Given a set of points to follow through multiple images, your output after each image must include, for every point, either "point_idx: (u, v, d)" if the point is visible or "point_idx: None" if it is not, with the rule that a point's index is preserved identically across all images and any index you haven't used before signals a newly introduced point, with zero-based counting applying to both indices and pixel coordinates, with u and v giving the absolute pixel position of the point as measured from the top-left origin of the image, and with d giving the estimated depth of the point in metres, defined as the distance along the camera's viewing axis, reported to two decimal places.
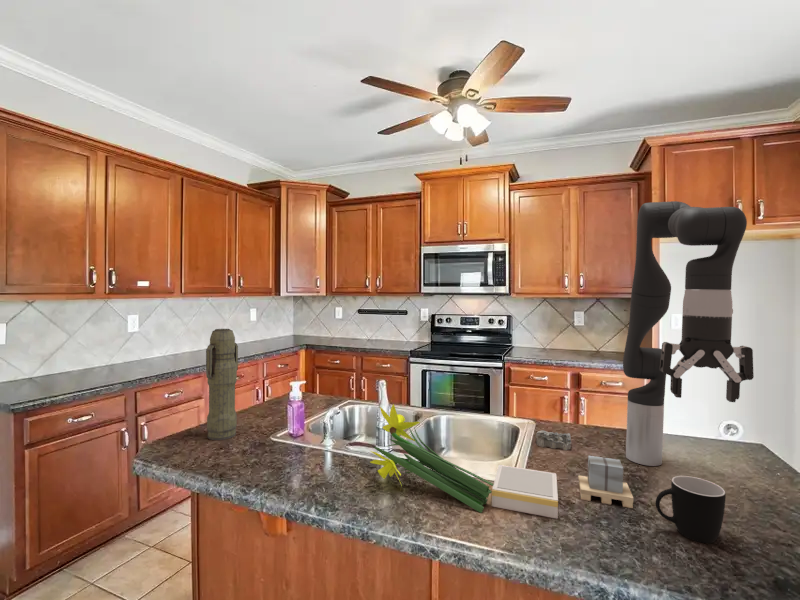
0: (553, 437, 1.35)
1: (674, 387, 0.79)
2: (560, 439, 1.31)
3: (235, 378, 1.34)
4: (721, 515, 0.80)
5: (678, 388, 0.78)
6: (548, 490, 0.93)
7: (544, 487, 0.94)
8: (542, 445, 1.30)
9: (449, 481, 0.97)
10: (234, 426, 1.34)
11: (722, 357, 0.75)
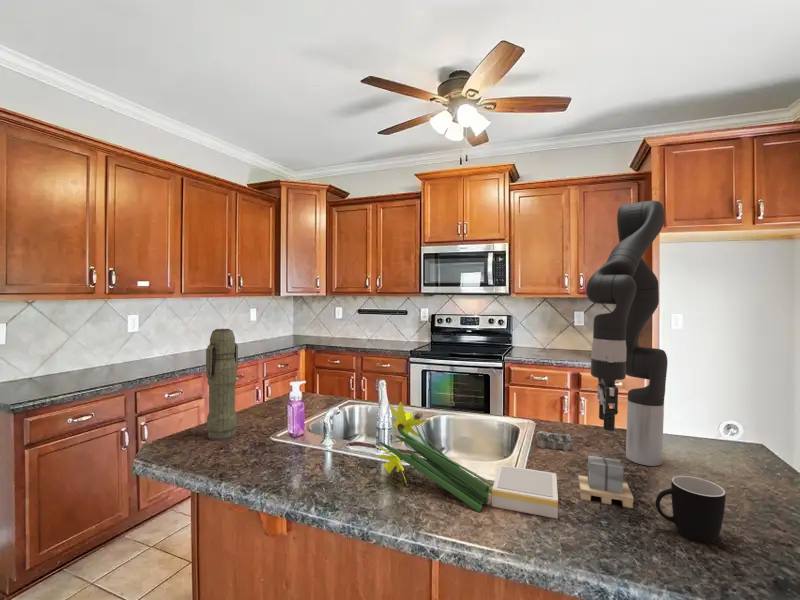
0: (553, 438, 1.35)
1: (612, 423, 0.94)
2: (560, 440, 1.30)
3: (235, 378, 1.34)
4: (721, 515, 0.80)
5: (614, 423, 0.94)
6: (548, 490, 0.93)
7: (544, 487, 0.94)
8: (543, 446, 1.29)
9: (451, 479, 0.98)
10: (234, 426, 1.34)
11: None
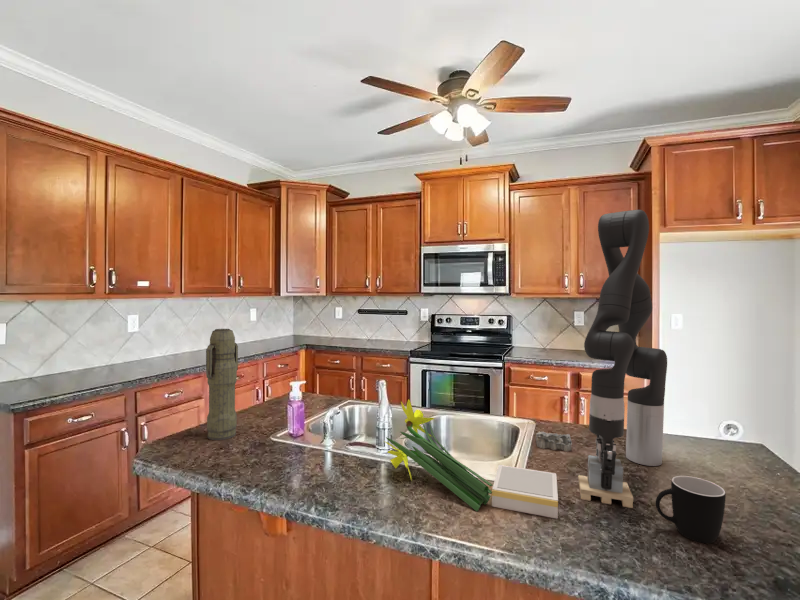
0: (552, 438, 1.34)
1: (609, 482, 0.96)
2: (560, 440, 1.30)
3: (235, 378, 1.34)
4: (721, 515, 0.80)
5: (611, 482, 0.96)
6: (548, 490, 0.93)
7: (544, 487, 0.94)
8: (543, 447, 1.29)
9: (452, 477, 0.99)
10: (234, 426, 1.34)
11: None
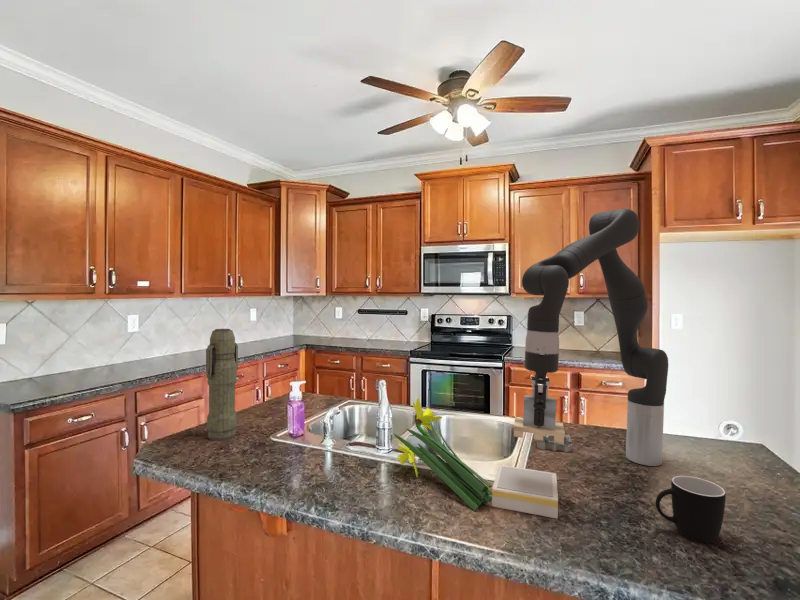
0: (552, 439, 1.33)
1: (542, 418, 0.93)
2: None
3: (235, 378, 1.34)
4: (721, 515, 0.80)
5: None
6: (548, 490, 0.93)
7: (544, 487, 0.94)
8: (543, 448, 1.28)
9: (455, 476, 1.00)
10: (234, 426, 1.34)
11: None
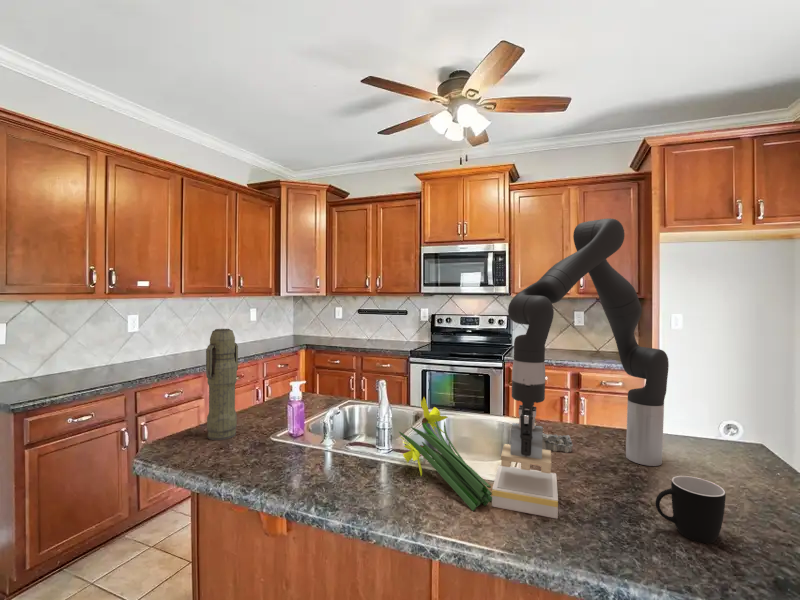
0: (552, 439, 1.33)
1: (529, 448, 0.94)
2: (561, 441, 1.29)
3: (235, 378, 1.34)
4: (721, 515, 0.80)
5: None
6: (548, 490, 0.93)
7: (544, 487, 0.94)
8: (543, 448, 1.27)
9: (456, 475, 1.00)
10: (234, 426, 1.34)
11: None
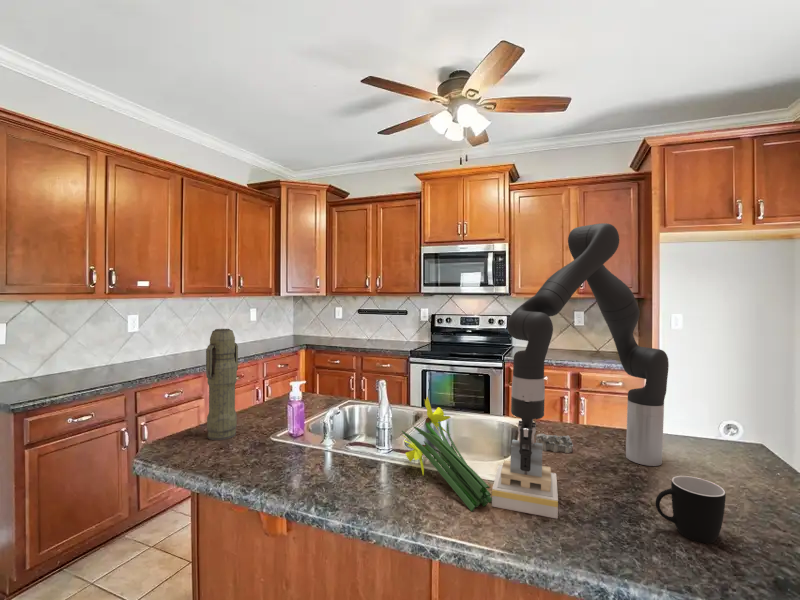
0: (552, 440, 1.33)
1: (528, 464, 0.93)
2: (561, 442, 1.28)
3: (235, 378, 1.34)
4: (721, 515, 0.80)
5: (530, 463, 0.93)
6: None
7: None
8: (544, 449, 1.27)
9: (456, 475, 1.00)
10: (234, 426, 1.34)
11: None
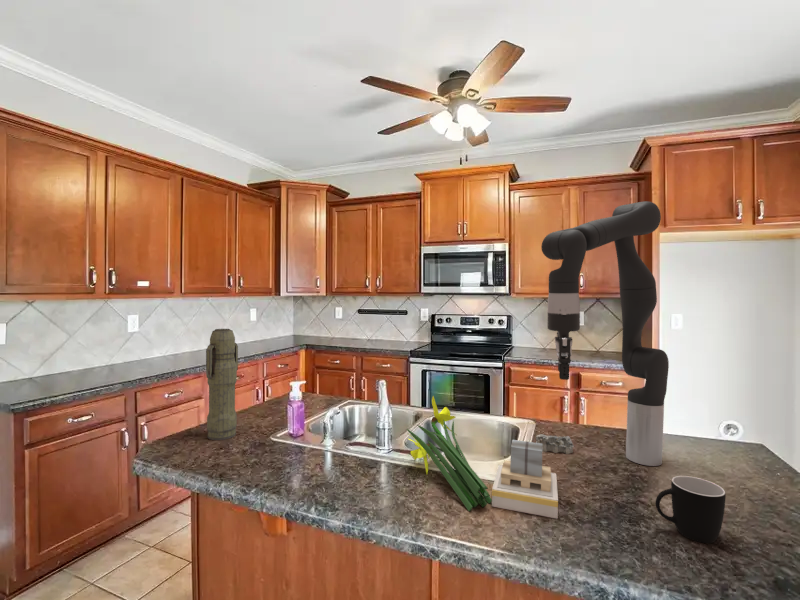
0: (552, 440, 1.32)
1: None
2: (561, 443, 1.28)
3: (235, 378, 1.34)
4: (721, 515, 0.80)
5: None
6: None
7: None
8: (545, 450, 1.26)
9: (457, 475, 1.00)
10: (234, 426, 1.34)
11: None
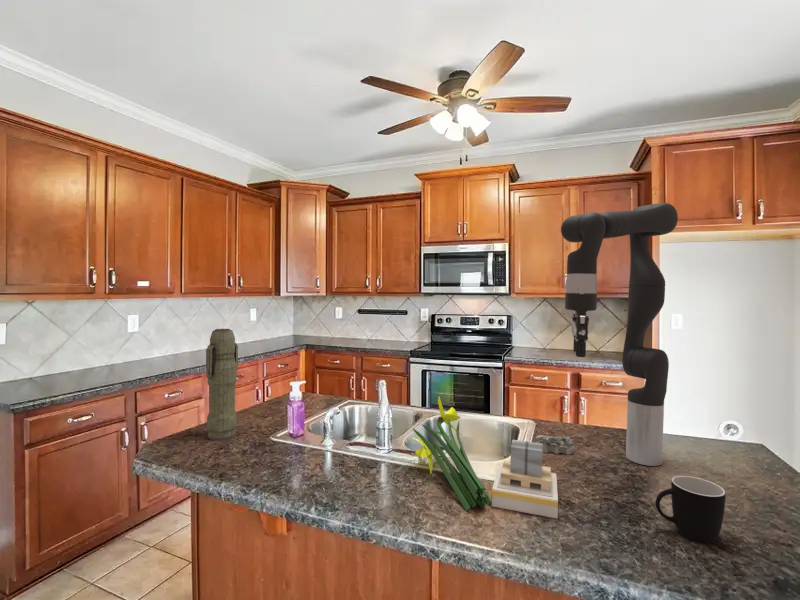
0: (552, 441, 1.31)
1: (583, 349, 1.01)
2: (562, 443, 1.27)
3: (235, 378, 1.34)
4: (721, 515, 0.80)
5: (585, 349, 1.02)
6: None
7: None
8: (545, 451, 1.25)
9: (458, 475, 1.00)
10: (234, 426, 1.34)
11: None
